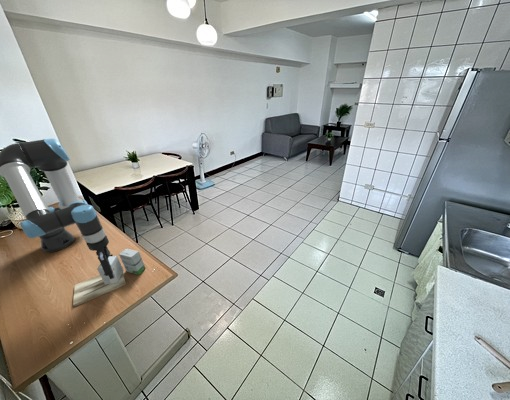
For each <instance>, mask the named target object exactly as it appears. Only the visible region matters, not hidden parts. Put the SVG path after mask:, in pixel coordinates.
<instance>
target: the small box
mask: <svg viewBox="0 0 510 400" xmlns="http://www.w3.org/2000/svg"><path fill="white" fill-rule="evenodd" d="M108 260H109V263H110V265H111V268H112V270H113V271H114V273H115V275H116V277H117V280H118V281H119V279H120V277H121V275H122V273H123V272H125V271H124V267H123V266H122V262H120V258H119V257H118V255H113V256H109V257H108ZM122 267H123V268H122ZM96 269H97V271H98V273H99V275H101V277H102V279H103V281H104V283H105V285H106V284H111V282H110V280H109V278H108V276H105V275H104V274H105V273H104V270H103V268H102V266H101V263H99V265H98V267H97V268H96ZM118 281H117V282H114V283H118ZM114 283H112V284H114Z"/></svg>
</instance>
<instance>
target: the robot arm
mask: <svg viewBox="0 0 510 400" xmlns="http://www.w3.org/2000/svg"><path fill="white" fill-rule="evenodd" d="M70 160H71V159H70V157H69V156H68V154H67V152H66V151H65V149H64V147H63V146H62V144H61V143H60V141H59V140H57V139H56V138H43V139H40V140H32V141H25V142H24V141H23V142H17V143H11V144H9V145H7V146H6V147H4V148H2V150H1V151H0V176H1V177H2V178H5V180H6V182H7V184H8V186H9V188H10V190H11V192H12V194H13V196H14V198H15V200H16V201H17V204H18V206H19V208H20V210H21V212H22V214H23V216H24V217H25V219H24V220H23V221H21V222H20V227H21V229H22V231H23V232H24V234H25V236H27V238H28V239H35V238H39V239H40V248H41V250H42V251H43V252H45V253H54V252H58V251H61V250H64V249H65V248H68V246H71V244H73V243H74V241H75V236H74V235H73V234H72V233H70V231H68V230H67V229H66V228H67V227H69V226H71V225H74V224H75V225H76V227H77V229H78V230H79V232H80V234H81V236H80V238H81V239H83V240H84V241H85V243H86V246H87V248H88V249H89V250H90V251H93V252H94V251H95V255H96V256H97V260H98V261H99V264H101V266H102V268H103V270H104V273H105V274H104V275H105V276H108V278H109V280H110V282H111V284H112V283H114V282H117V281H118V280H117V277H116V275H115V273H114V271H113V270H112V268H111V265H110V263H109V260H108V257H109V256H114V255H113V254H112V253H111V251H110V250H109V248H108V245H109V242H110V241H109V238H108V236H107V234H106V232H105V231H106V230H104V227H103V225H102V223H101V221H100V219H99V217H98V213H97V211H96V210H95V208H94V206H93V205H91V204H88V202H87V201H86V200H85V199H82V198H81V197H80V196H78V194H77V192H76V189H75V187H74V185H73V183H72V180H71V178H70V176H69V172H68V171H67V169H66V167H67V166H68V162H69V161H70ZM32 168H33V169H35V168H37V170H39V171H41V172H43V173H44V175H45V176H46V178H47V181H48V182H49V184H50V186H51V187H52V188H51V189H52V190H53V191H54V194H55V196H56V198H57V199H58V206H57V207H55V208H54V207H53V206H48V205H47V203H46V201H45V199H44V198H43V195H42V193H41V192H40V191H39V189H38V186H37V185H36V183H35V181H34V179H33V177H32V175H31V174H30V172H31V169H32Z"/></svg>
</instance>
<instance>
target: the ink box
mask: <svg viewBox="0 0 510 400" xmlns="http://www.w3.org/2000/svg"><path fill="white" fill-rule="evenodd" d="M118 256H119V259H120V260H121V264H122V265H123V268H124V269H125V272H126V273H127V272H128V273H130V274H134V275H138V276H139V275H141V274H142V273H143V272H144V271H145V270H146V266H145V263H144V261H143V258H142V256H141V253H140V251H139V250H135V249H130V248H125V249H123V250H122V251H121V252H119V254H118Z"/></svg>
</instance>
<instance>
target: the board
mask: <svg viewBox="0 0 510 400" xmlns="http://www.w3.org/2000/svg"><path fill="white" fill-rule="evenodd" d="M122 268H123V269H124V266H122ZM123 286H126V277H125V271H123V273H122V275H121V277H120V279H119V281H118V283H114V284H106V285H105V283H104V281H103V279H102V277H101V275H100V274H99V275H96V276H93V277H91V278H89V279H85V280H83V281H81V282H78V283H76V284H74V291H73V301H72V306H73V308H75V307H77V306H79V305H81V304H83V303H86V302H89V301H91V300H93V299H95V298H98V297H100V296H103V295H105V294H108V293H109V292H112V291H114V290H117V289H119V288H122V287H123Z"/></svg>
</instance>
